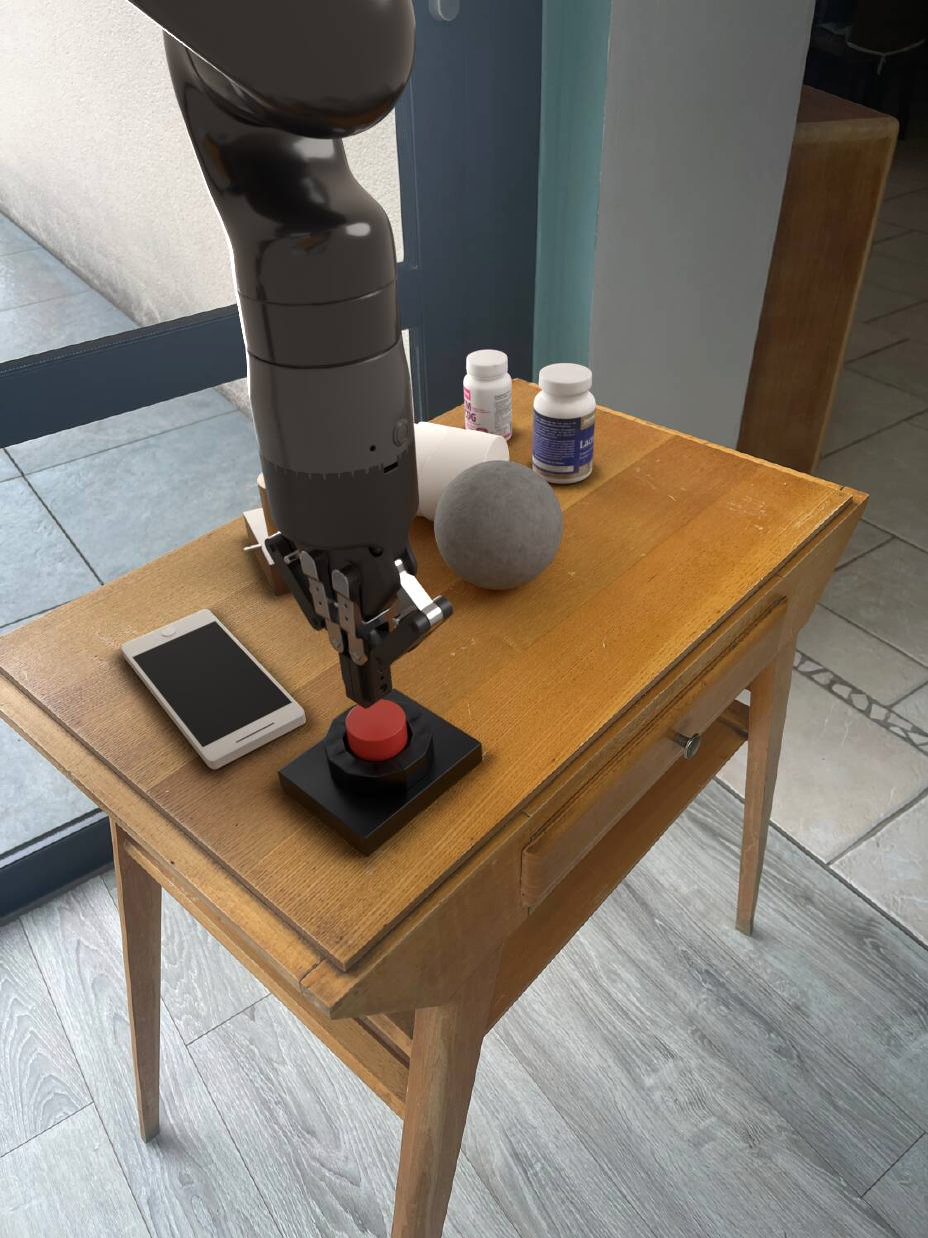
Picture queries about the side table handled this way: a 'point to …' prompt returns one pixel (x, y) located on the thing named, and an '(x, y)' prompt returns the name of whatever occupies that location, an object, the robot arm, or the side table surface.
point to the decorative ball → (498, 525)
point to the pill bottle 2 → (564, 424)
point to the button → (377, 730)
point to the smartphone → (212, 688)
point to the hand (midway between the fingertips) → (369, 696)
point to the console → (263, 549)
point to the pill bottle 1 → (488, 393)
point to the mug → (449, 458)
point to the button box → (380, 776)
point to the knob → (266, 507)
